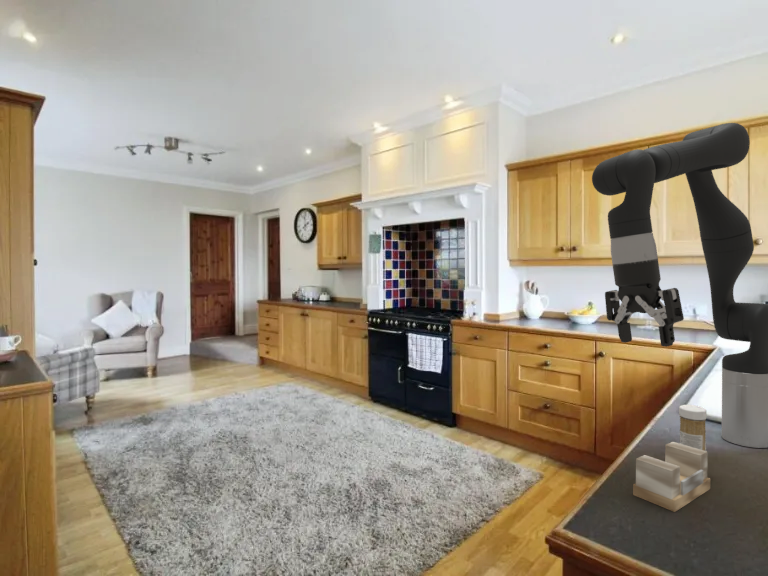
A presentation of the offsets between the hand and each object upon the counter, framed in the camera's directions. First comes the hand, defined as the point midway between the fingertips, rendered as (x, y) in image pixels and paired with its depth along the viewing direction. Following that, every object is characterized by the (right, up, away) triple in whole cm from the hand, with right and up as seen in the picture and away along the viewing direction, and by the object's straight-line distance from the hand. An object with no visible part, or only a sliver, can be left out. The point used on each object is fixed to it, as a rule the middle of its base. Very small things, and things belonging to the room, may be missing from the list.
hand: (645, 343), depth 82 cm
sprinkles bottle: (+14, -27, +6) cm, 31 cm away
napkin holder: (+4, -28, -1) cm, 28 cm away
